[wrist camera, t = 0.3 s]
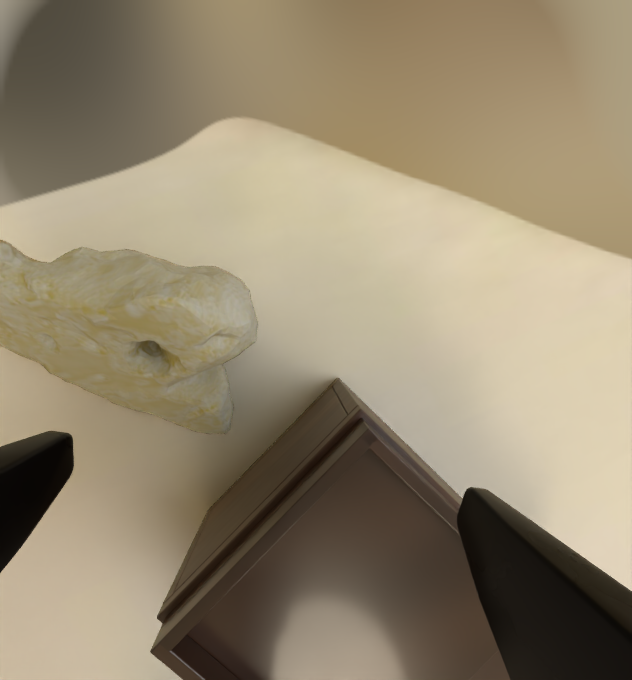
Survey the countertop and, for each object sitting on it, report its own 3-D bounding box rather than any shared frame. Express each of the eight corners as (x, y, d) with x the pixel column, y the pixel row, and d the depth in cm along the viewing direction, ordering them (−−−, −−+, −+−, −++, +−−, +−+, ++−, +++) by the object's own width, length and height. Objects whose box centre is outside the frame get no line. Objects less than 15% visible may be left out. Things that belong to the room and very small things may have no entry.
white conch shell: (307, 344, 25) (205, 114, 14) (293, 435, 20) (123, 179, 9) (139, 366, 29) (-33, 198, 19) (92, 446, 24) (-179, 275, 13)
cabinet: (478, 514, 24) (575, 617, 16) (354, 642, 24) (384, 813, 16) (338, 377, 23) (361, 408, 15) (207, 510, 23) (155, 618, 15)
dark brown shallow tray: (541, 590, 15) (566, 619, 14) (355, 781, 15) (361, 830, 14) (361, 416, 15) (369, 427, 13) (164, 618, 15) (149, 652, 13)
